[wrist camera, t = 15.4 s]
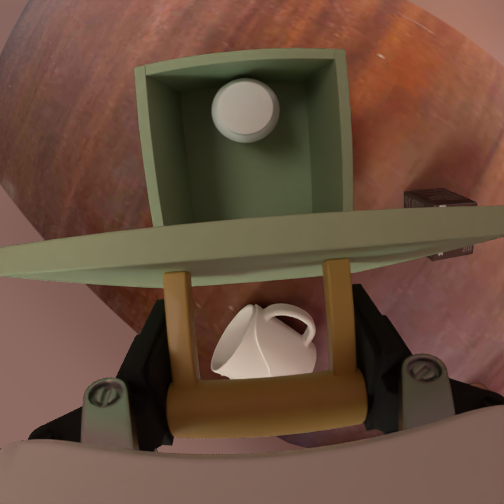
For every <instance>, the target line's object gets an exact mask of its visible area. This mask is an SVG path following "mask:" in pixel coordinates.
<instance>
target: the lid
mask: <svg viewBox="0 0 504 504" xmlns="http://www.w3.org/2000/svg"><path fill="white" fill-rule="evenodd" d="M501 237H504V206H458V207H426V208H400V209H379V210H360V211H342V212H326V213H310V214H296V215H282V216H269V217H257V218H244V219H233V220H221V221H210V222H200V223H189V224H179V225H170V226H160V227H151V228H141V229H133V230H124V231H115V232H107V233H99V234H90V235H83V236H75V237H67V238H60V239H52V240H45V241H38V242H31V243H24V244H17V245H11V246H4V247H0V276H4V277H15V278H25V279H36V280H47V281H60V282H72V283H85V284H100V285H115V286H132V287H151V288H164V301H165V314H166V326H167V336H168V347H169V356H170V365H171V373H172V381H173V382H171V383H170V385H169V387H168V391H167V396H166V417H167V423H168V426H169V429H170V432H171V434H172V435H173V436H174V437H176V438H245V437H246V438H247V437H264V436H277V435H288V434H297V433H306V432H314V431H321V430H328V429H334V428H340V427H346V426H351V425H357V424H361V423H363V422H364V421H365V419H366V416H367V410H368V395H367V388H366V383H365V380H364V377H363V374H362V372H361V371H360V369H359V368H358V367H357V361H356V337H355V319H354V304H353V292H352V280H351V273H355V272H360V271H364V270H369V269H373V268H378V267H382V266H387V265H391V264H396V263H400V262H404V261H409V260H413V259H417V258H422V257H426V256H430V255H434V254H438V253H442V252H446V251H450V250H454V249H458V248H462V247H466V246H470V245H474V244H478V243H482V242H486V241H489V240H493V239H497V238H501ZM315 276H323V283H324V294H325V307H326V321H327V337H328V355H329V370H328V371H321V372H313V373H304V374H295V375H285V376H274V377H262V378H247V379H229V380H200V373H199V364H198V354H197V344H196V334H195V322H194V310H193V297H192V286H204V285H219V284H232V283H245V282H258V281H270V280H282V279H293V278H305V277H315Z"/></svg>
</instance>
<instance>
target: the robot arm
mask: <svg viewBox="0 0 504 504" xmlns="http://www.w3.org/2000/svg"><path fill="white" fill-rule="evenodd" d="M352 292H353V304H354V319H355V337H356V361H357V367H358V368H359V369H360V371H361V372H362V374H363V377H364V380H365V383H366V388H367V395H368V410H367V416H366V419H365V421H364V422H363V423H364V424H365V427H366V430H367V431H369V430H373V429H377V430H380V431H382V436H377V437H373V438H368V439H363V440H358V441H353V442H348V443H342V444H336V445H329V446H323V447H316V448H308V449H300V450H291V451H280V452H267V453H250V454H179V453H178V454H177V453H161V452H158V451H157V448H158V447H160V446H161V445H172V443H173V439H174V436H173V435H172V434H171V432H170V429H169V426H168V423H167V417H166V396H167V391H168V387H169V385H170V383H171V382H173V381H172V373H171V365H170V356H169V347H168V336H167V326H166V314H165V301H164V299H162V300H157V301H156V303H155V305H154V307H153V309H152V311H151V313H150V315H149V317H148V319H147V321H146V323H145V325H144V327H143V329H142V331H141V333H140V334H138V335H136V337H135V338H134V341H133V343H132V345H131V347H130V349H129V351H128V353H127V355H126V357H125V359H124V361H123V363H122V365H121V368H120V370H119V372H118V374H117V376H116V378H112V377H111V378H103V379H100V380H97V381H95V382H94V383H92V384H91V385H90V386H88V388H87V389H86V391H85V393H84V396H83V406H82V407H80V408H78V409H76V410H74V411H72V412H70V413H68V414H66V415H64V416H62V417H59V418H57V419H55V420H53V421H51V422H49V423H47V424H45V425H42V426H40V427H39V428H37V429H35V430H34V431H33V432H32V433H31V434H30V436H29V438H28V440H22V441H18V442H14V443H11V444H8V445H6V446H5V447H3V448H1V449H0V504H504V397H503V396H501V395H500V394H498V393H495V392H492V391H489V390H485V389H482V388H479V387H476V386H472V385H469V384H466V383H463V382H460V381H457V380H453V379H450V378H449V377H448V372H447V368H446V366H445V364H444V363H443V362H442V361H441V360H440V359H439V358H437V357H435V356H433V355H430V354H415V355H412V353H411V352H410V350H409V349H408V347H407V346H406V344H405V343H404V341H403V339H402V338H401V336H400V335H399V333H398V332H397V330H396V329H395V327H394V326H393V324H392V323H391V322H390V320H389V319H388V317H387V316H386V315H381V313H380V312H379V310H378V309H377V307H376V306H375V304H374V303H373V301H372V300H371V298H370V297H369V296H368V294H367V293H366V291H365V290H364V288H363V287H362V285H361V284H352Z"/></svg>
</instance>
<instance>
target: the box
mask: <svg viewBox="0 0 504 504" xmlns="http://www.w3.org/2000/svg"><path fill="white" fill-rule="evenodd" d="M458 206H477V202H475V201H473V200H470V199H468V198H466V197H463V196H461V195H459V194H456V193H454V192H452V191H449V190H447V189H444V188H437V189H425V190H410V191H404V208H426V207H458ZM473 246H474V245H470V246H466V247H462V248H458V249H454V250H450V251H446V252H442V253H438V254H434V255H430V256H426V257H428V258H429V259H430V260H431V261H436V260H442V259H447V258H452V257H458V256H464V255H469V254H472V253H473Z"/></svg>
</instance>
